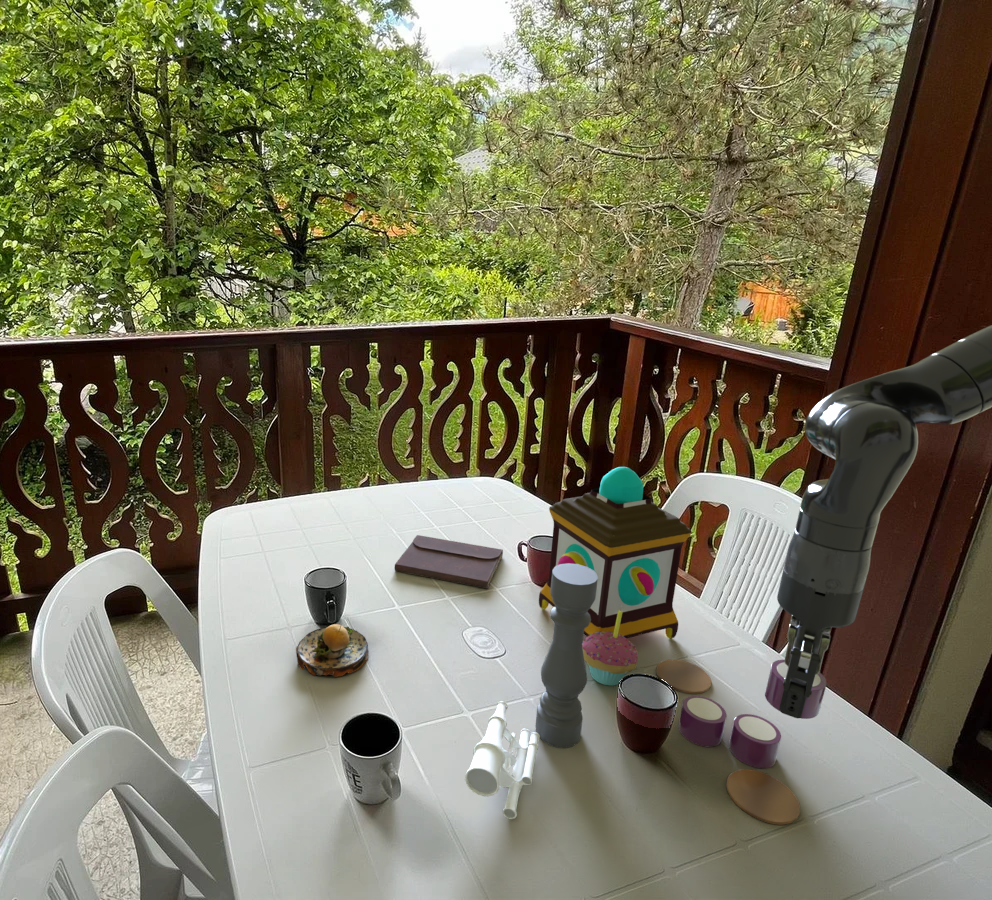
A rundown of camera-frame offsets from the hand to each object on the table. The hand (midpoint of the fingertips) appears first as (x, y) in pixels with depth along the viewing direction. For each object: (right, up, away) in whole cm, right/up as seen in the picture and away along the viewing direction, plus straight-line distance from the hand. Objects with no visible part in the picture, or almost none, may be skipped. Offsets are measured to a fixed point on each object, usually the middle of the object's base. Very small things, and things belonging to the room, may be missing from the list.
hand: (792, 698), depth 76 cm
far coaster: (-1, -6, +25) cm, 26 cm away
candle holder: (-24, -10, +14) cm, 30 cm away
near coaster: (-2, -14, +3) cm, 14 cm away
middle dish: (+1, -11, +10) cm, 15 cm away
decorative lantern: (-9, -2, +40) cm, 41 cm away
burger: (-58, -5, +30) cm, 65 cm away
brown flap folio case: (-35, +5, +60) cm, 70 cm away
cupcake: (-14, -7, +25) cm, 30 cm away
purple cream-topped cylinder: (-4, -10, +14) cm, 18 cm away
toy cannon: (-33, -12, +7) cm, 36 cm away
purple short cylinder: (0, -1, 0) cm, 0 cm away
